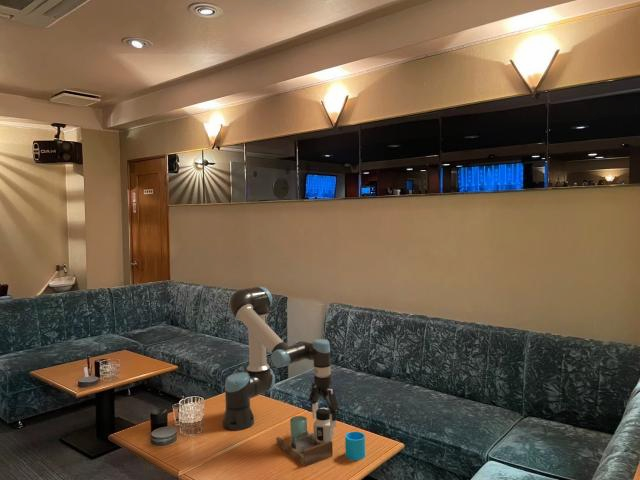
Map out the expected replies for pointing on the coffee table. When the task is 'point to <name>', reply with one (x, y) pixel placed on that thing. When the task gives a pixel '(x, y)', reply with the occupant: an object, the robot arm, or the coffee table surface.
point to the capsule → (297, 427)
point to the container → (323, 425)
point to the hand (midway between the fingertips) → (324, 422)
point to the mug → (355, 445)
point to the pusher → (304, 441)
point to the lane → (308, 451)
